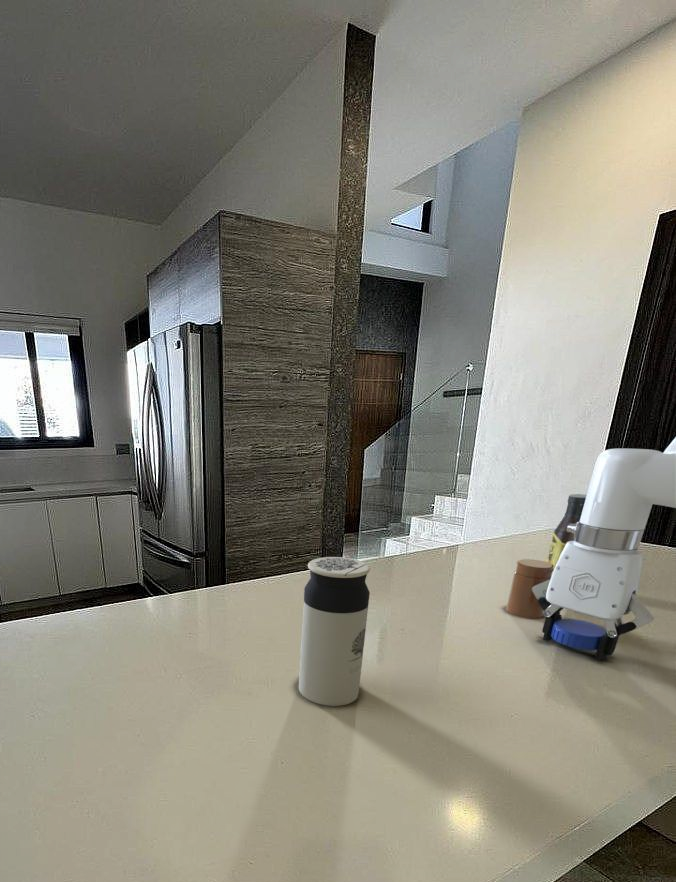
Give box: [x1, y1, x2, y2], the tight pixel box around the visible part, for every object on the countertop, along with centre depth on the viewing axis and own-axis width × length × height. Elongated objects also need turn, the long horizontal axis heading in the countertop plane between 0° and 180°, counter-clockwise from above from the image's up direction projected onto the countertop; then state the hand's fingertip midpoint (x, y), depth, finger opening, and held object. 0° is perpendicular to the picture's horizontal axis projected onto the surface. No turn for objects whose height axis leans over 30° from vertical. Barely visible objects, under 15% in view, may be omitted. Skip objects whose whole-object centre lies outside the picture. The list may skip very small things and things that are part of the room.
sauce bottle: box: [546, 493, 587, 576], centre depth 102 cm, size 7×6×20 cm
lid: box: [551, 618, 606, 651], centre depth 75 cm, size 7×7×2 cm
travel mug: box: [298, 556, 371, 707], centre depth 62 cm, size 8×8×18 cm
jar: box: [505, 558, 554, 619], centre depth 89 cm, size 6×6×10 cm
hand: (574, 646), depth 76 cm, fingers closed on lid, 6 cm apart
